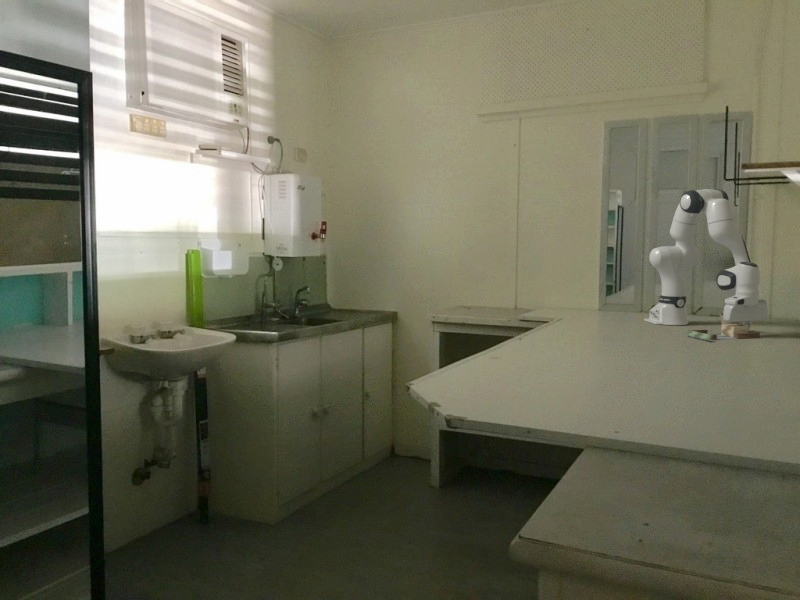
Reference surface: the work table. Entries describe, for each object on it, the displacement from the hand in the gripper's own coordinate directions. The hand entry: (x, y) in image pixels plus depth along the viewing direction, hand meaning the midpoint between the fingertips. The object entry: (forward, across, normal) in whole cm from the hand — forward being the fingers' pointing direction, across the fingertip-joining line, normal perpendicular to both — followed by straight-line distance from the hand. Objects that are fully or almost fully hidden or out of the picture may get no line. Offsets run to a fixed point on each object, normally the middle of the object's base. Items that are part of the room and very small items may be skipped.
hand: (745, 331), depth 269 cm
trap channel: (+3, +11, 0) cm, 11 cm away
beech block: (+2, +6, 0) cm, 6 cm away
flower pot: (+3, -2, -11) cm, 12 cm away
